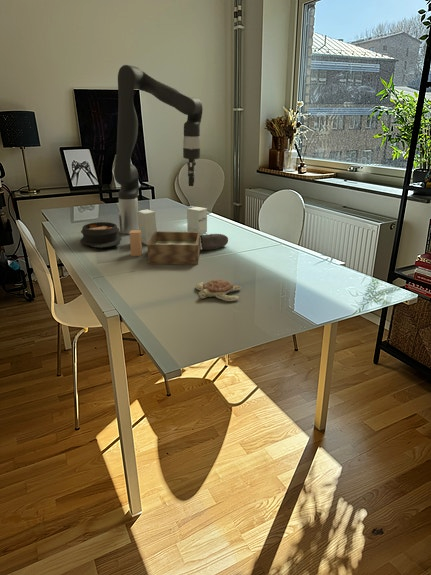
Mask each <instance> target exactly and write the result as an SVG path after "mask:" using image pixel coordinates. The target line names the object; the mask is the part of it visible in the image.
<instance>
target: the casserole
mask: <svg viewBox="0 0 431 575" xmlns="http://www.w3.org/2000/svg"><path fill="white" fill-rule="evenodd" d="M118 232H120V227H118V225H117V224H116V223H113V222H109V221H108V222H105V221H104V222H103V221H100V222H99V221H98V222H90V223H87V224H85V225H83V226H82V228H81V231H80V233H81V234H82V238H80V243H81V244H83V245H86V246H91V247H92V248H99V249H100V248H102V249H103V248H110V247H115V246H118V245H120V243H121V241H122V239H123V238H122V237H121V236H120V235H118Z"/></svg>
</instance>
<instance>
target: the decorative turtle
mask: <svg viewBox="0 0 431 575" xmlns="http://www.w3.org/2000/svg"><path fill="white" fill-rule="evenodd" d="M195 289H196V290H198V298H199V299H201V300H202V299H207V298H214V297H215V298H216V299H219V300H223V301H227V302H228V301H229V302H232V301H236V300H238V299H239V298H240V297H239V295H227V294H228V293H230V292H231V291H239V290H241V289H242V288H241V285H233V283H230V281H228V280H222V279H214V280H213V279H212V280H209V281H207V282H206V283H205V282H203V281H202V282H199V283H197V284H196V285H195Z"/></svg>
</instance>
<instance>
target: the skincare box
mask: <svg viewBox="0 0 431 575" xmlns="http://www.w3.org/2000/svg"><path fill="white" fill-rule="evenodd" d="M137 216H138V227H139V230H141V242H142V244H144V245H146V246H147V244H148V242H149V241H150V239H151V237H152V236H153V234H154V232H155V231H158V230H157V221H156V220H157V219H156V211H154V210H150V209H148V208H147V209H142V210H140V209H139V210H138V211H137Z"/></svg>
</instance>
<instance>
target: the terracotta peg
mask: <svg viewBox="0 0 431 575" xmlns="http://www.w3.org/2000/svg"><path fill="white" fill-rule="evenodd" d="M129 242H130V243H129V245H130V247H129V248H130V256H133V257H137V256H138V257H140V256H142V254H143V247H142V244H143V243H142V242H141V230H131V231H130V234H129Z"/></svg>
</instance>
